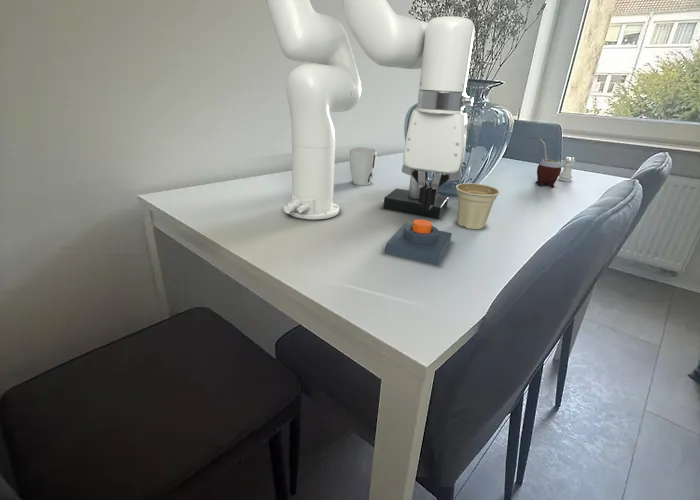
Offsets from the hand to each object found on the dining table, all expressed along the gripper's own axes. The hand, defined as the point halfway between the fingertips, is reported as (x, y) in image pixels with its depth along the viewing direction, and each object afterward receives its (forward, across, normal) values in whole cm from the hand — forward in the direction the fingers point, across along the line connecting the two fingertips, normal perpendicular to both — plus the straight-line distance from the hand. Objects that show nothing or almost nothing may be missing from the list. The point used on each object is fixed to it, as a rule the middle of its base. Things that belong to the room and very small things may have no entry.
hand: (426, 207), depth 73 cm
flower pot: (+9, -7, -20) cm, 22 cm away
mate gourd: (+9, -24, -73) cm, 77 cm away
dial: (+5, +7, -24) cm, 26 cm away
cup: (+8, +28, -39) cm, 49 cm away
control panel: (+8, +8, -24) cm, 27 cm away
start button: (+5, 0, 0) cm, 5 cm away
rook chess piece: (+9, -30, -85) cm, 91 cm away
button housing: (+8, 0, 0) cm, 9 cm away
